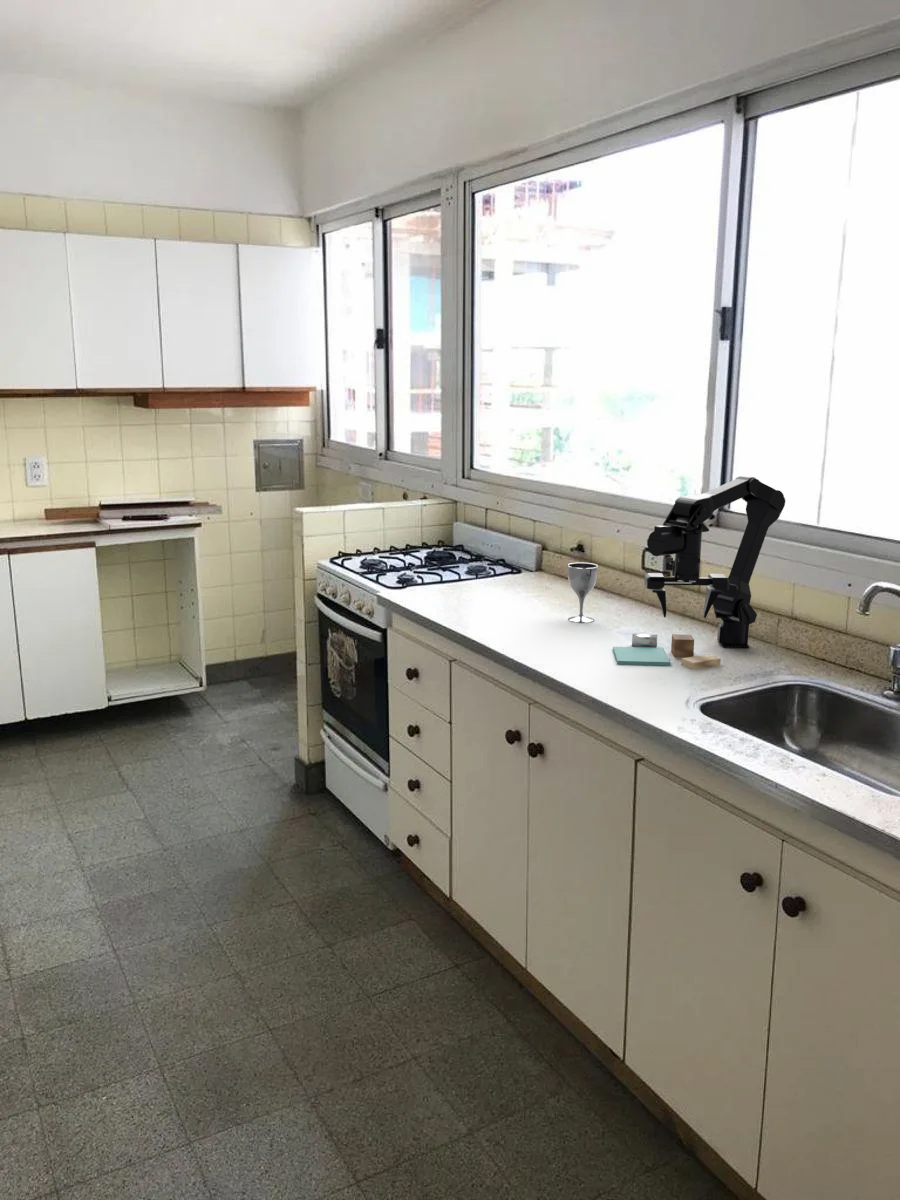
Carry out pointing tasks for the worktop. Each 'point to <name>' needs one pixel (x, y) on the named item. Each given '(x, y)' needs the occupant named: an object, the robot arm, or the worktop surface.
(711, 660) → the beech slab
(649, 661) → the plate
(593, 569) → the wine glass
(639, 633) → the metal tin
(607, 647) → the worktop surface
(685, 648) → the walnut block
